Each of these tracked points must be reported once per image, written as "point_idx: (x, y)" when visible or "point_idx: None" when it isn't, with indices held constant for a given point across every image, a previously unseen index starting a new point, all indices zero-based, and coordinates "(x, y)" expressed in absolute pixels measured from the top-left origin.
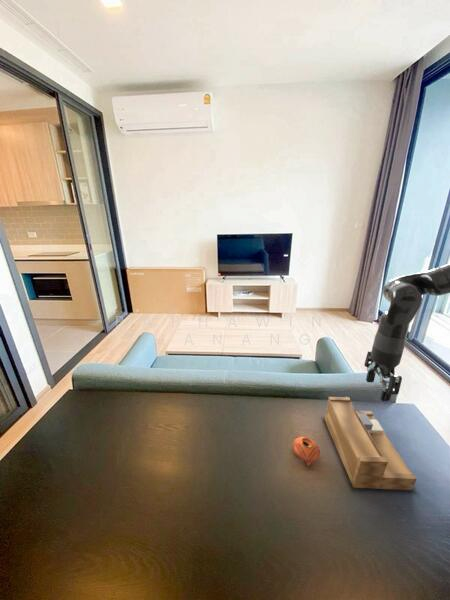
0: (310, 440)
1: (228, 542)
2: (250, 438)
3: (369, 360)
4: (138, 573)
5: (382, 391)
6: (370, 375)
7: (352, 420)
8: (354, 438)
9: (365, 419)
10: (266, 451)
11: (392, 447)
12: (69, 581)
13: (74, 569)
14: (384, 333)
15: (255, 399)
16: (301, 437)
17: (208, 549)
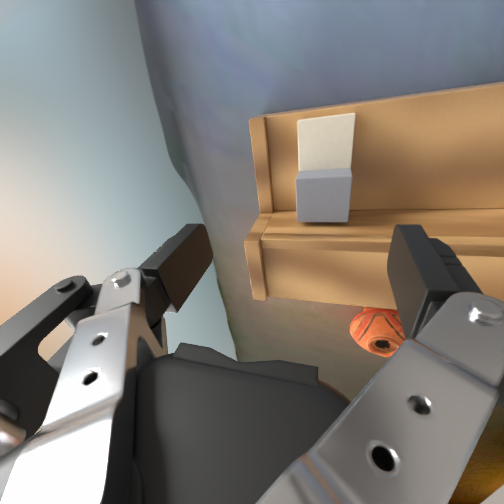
0: (378, 339)
1: (499, 423)
2: (331, 370)
3: (51, 392)
4: (495, 471)
5: (407, 330)
6: (183, 283)
7: (356, 270)
8: None
9: (324, 194)
10: (360, 359)
11: (428, 103)
12: (479, 493)
13: (470, 490)
14: None
15: (240, 344)
16: (361, 343)
17: (498, 436)
